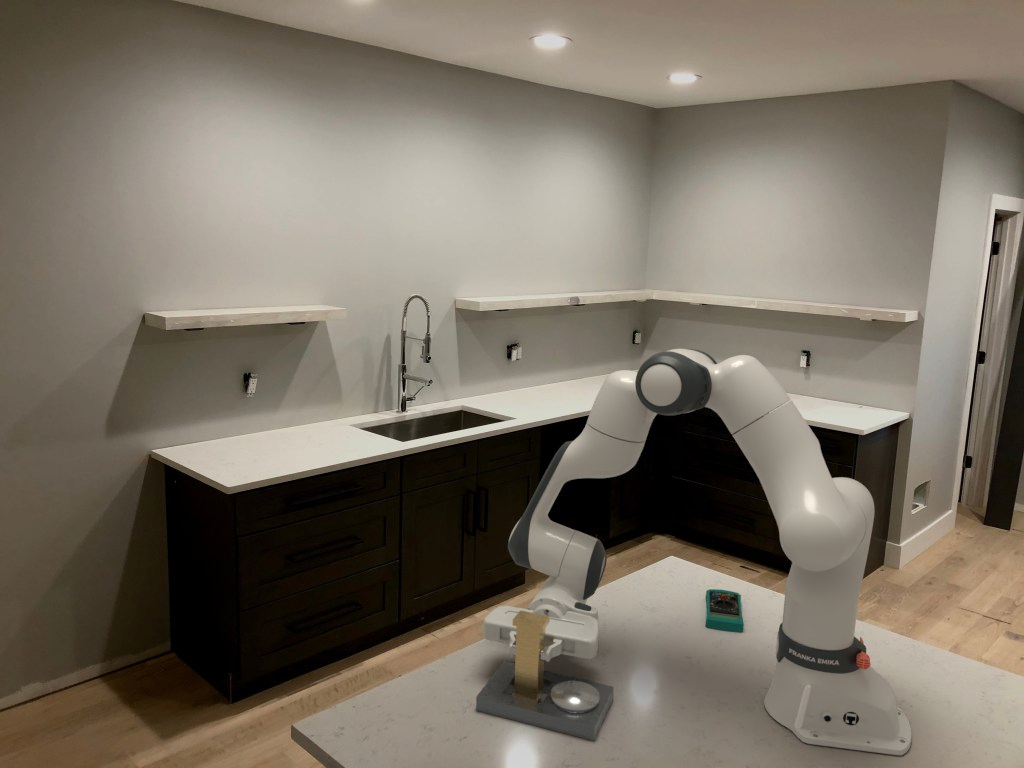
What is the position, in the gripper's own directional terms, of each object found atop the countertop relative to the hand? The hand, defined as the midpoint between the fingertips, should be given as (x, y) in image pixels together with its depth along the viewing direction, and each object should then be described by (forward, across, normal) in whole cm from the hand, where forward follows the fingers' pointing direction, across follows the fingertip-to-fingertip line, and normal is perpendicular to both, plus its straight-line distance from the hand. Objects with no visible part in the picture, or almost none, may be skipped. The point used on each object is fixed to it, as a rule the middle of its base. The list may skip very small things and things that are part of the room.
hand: (528, 654), depth 131 cm
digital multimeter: (-46, +29, +10) cm, 55 cm away
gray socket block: (-1, +3, +9) cm, 10 cm away
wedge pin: (-1, 0, +8) cm, 8 cm away
